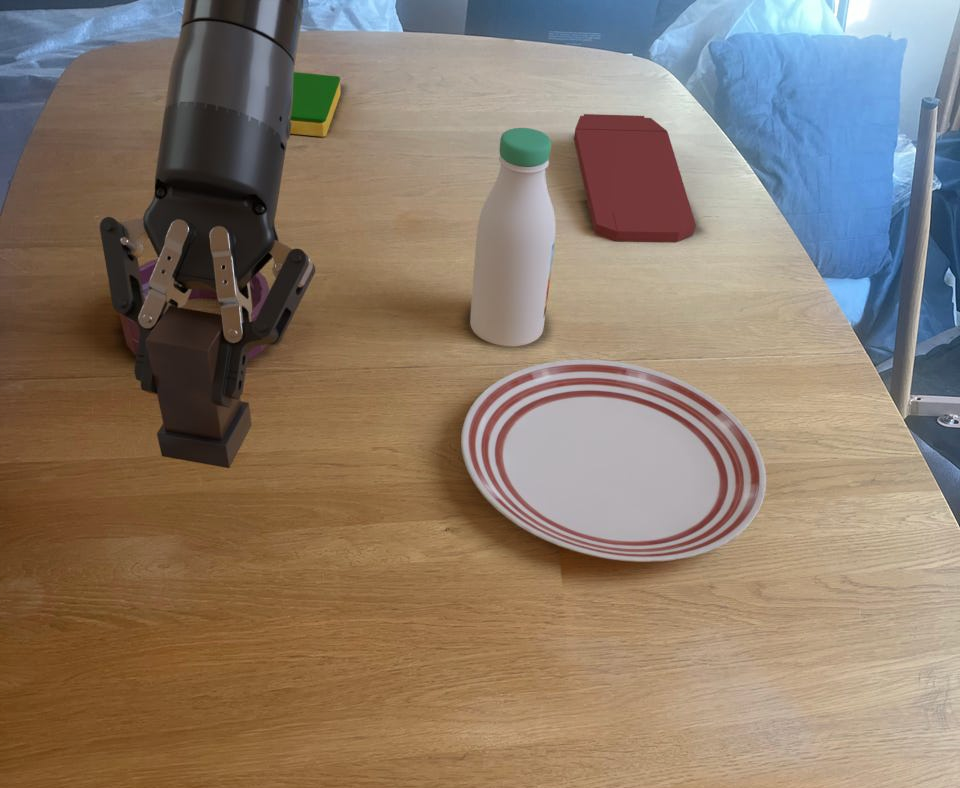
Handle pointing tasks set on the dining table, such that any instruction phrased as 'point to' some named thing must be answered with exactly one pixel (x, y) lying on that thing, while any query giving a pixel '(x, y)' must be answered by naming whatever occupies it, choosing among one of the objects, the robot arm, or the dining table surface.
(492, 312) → the milk bottle
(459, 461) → the dining table surface
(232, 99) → the robot arm
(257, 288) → the ring
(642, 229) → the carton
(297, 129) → the dish sponge
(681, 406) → the dinner plate
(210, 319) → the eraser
